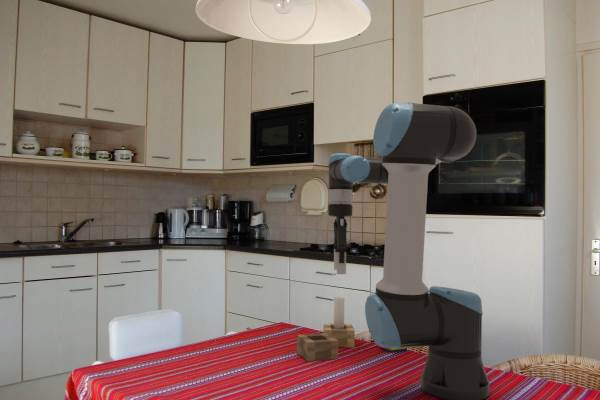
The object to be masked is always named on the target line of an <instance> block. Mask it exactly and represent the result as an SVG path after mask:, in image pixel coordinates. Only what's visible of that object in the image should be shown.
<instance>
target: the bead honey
mask: <svg viewBox="0 0 600 400" xmlns="http://www.w3.org/2000/svg"><path fill="white" fill-rule="evenodd" d="M322 333H327V334H328V335H330V336H332V337H333V338H335V339H337V340H338V348H355V328H354V326H353V324H352V323H344V329H334V323H323V331H322Z"/></svg>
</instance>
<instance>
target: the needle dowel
mask: <svg viewBox="0 0 600 400" xmlns="http://www.w3.org/2000/svg"><path fill="white" fill-rule="evenodd" d="M333 324H334V329H344V324H345V297H340V296H337V297H334V298H333Z"/></svg>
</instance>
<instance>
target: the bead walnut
mask: <svg viewBox="0 0 600 400" xmlns="http://www.w3.org/2000/svg"><path fill="white" fill-rule="evenodd" d="M296 353H297V355H299V356H300V357H302V358H303V359H304V360H306V361H307V362H316V361H327V360H328V361H329V360H337V359H339V347H338V340H337V339H335V338H333V337H332V336H330V335H328V334H327V333H323V332H322V333H309V334H296Z"/></svg>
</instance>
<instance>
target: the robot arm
mask: <svg viewBox="0 0 600 400" xmlns="http://www.w3.org/2000/svg"><path fill="white" fill-rule="evenodd" d="M373 131H374V132H373V139H372V142H373V144H372V145H373V146H374V147H373V151H374V153H375V154H376V155H377V156H379V157H381V158H379V157H378V158H377V157H363V156H361V155H352V154H351V153H333V154H330V155H329V157H328V190H327V191H328V194H327V195H328V197H327V198H328V199H327V202H328V203H330V204H328V208H327V209H328V211H327V212H328V213H327V214H328V216H329V217H335V219H334V221H333V234H334V237H333V238H334V239H333V270H335V271H336V275H346V274H347V250H348V247H347V243H348V242H347V232H348V231H347V230H348V229H347V228H348V222H347V218H345V217H353V205H352V203H353V197H354V196H355V193H354V192H353V190H354V189H353V185H354V183H356V184H385V185H386V184H387V191H386V192H387V193H386V194H387V196H386V198H387V199H386V216H385V230H384V231H385V232H384V233H385V236H384V251H383V252H384V254H383V275H382V278H381V279H380V281H378V282H377V283H376V285H375V294H374V293H372V294H370V295H368V296H367V298H366V300H365V304H364V312H365V313H364V316H365V320H366V325H367V329H368V331H369V334H370V336H371V338H372V340H373V342H375V344H376V345H378V346H379V347H380V346H381V347H384V348H397V349H398V348H403V347H407V348H415V347H418V348H419V347H428V356H427V358H426V361H425V364H424V367H423V371H422V372H421V375H420V376H421V377H420V388H421V389H422V391H424V392H425V393H427V394H429V395H430V396H434V397H436V398H440V399H444V400H484V399H487V398H488V397H489V396H490V381H489V379H488V375H487V372H486V369H485V366H484V362H483V360H482V359H483V358H482V346H483V345H482V343H483V342H482V341H483V340H482V338H483V337H482V333H483V332H482V331H483V330H482V328H483V325H482V323H483V315H484V313H483V306H482V298H481V297H480V295H478V294H477V293H474V292H472V291H467V290H463V289H459V288H451V287H445V286H438V285H437V286H435V285H433V286H430V287H429V288H428V286H427V285H426V284H425V283H424V282H423V275H424V274H423V272H424V271H423V270H424V253H425V235H426V216H427V200H428V182H429V181H428V180H429V174H430V172H431V171H432V170H433V169H435V168H436V166H437V165H438V164H440V163H452V162H455V161H457V160H460V159H462V158H464V157H466V156H467V155H468V154H469V153H470V152H471V150H472V149H473V148H474V146H475V143H476V140H477V128H476V124H475V123H474V120H473V119H472V117H470V115H469V114H467V113H466V112H465V111H464V110H462V109H460V108H458V107H455V106H450V105H449V106H448V105H437V104H436V105H435V104H425V103H417V102H415V103H414V102H394V103H393V102H392V103H390V104H388V105H387V106H385V107H384V109H383V110H382V111H381V113H380V115H379V116H378V118H377V121H376V124H375V126H374V130H373Z"/></svg>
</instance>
